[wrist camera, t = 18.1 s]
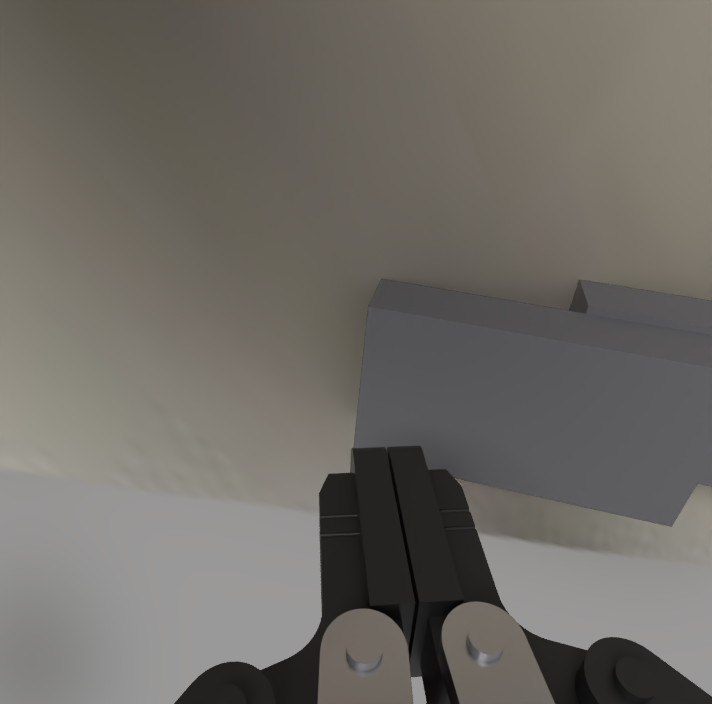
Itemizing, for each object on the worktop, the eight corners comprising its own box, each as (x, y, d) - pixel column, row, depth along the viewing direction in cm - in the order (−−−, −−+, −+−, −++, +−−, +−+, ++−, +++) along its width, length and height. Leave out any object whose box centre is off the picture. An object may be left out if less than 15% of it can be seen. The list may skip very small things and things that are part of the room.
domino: (352, 454, 16) (671, 527, 14) (368, 306, 13) (762, 376, 12) (365, 418, 17) (654, 480, 16) (381, 278, 14) (731, 338, 13)
